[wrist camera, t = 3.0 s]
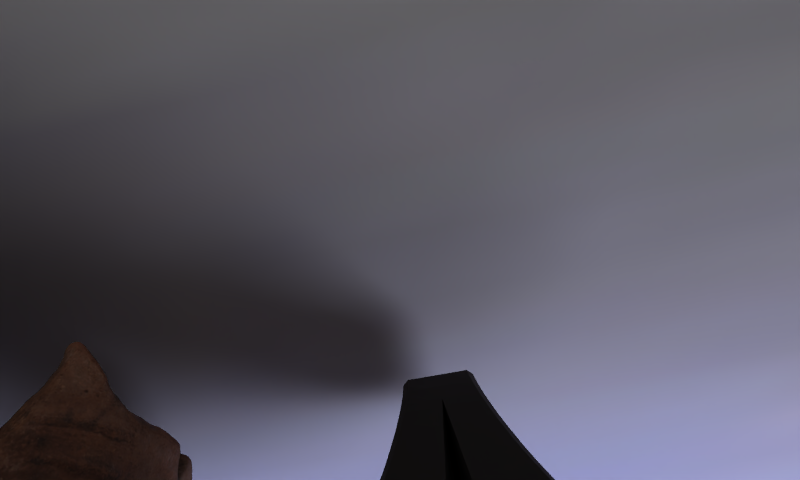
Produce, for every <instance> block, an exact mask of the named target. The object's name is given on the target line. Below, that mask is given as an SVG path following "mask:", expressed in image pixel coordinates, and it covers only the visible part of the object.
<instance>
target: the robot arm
mask: <svg viewBox="0 0 800 480" xmlns="http://www.w3.org/2000/svg"><path fill="white" fill-rule="evenodd" d="M380 480H555V479H554V478H553V477H552V476H551V475H550V474H549V473H548V472H547V471H546V470H545V469H544V468H543V467H542V466H541V465H540V463H539V462H538V461H537V460H536V459H535V458H534V457H533V456H532V455H531V453H530V452H529V451H528V450H527V449H526V448H525V447H524V445H523V444H522V443H521V442H520V441H519V439H518V438H517V437H516V436H515V434H514V433H513V432H512V431H511V430H510V428H509V427H508V426H507V425H506V423H505V422H504V421H503V420H502V418H501V417H500V416H499V414H498V413H497V412H496V410H495V409H494V407H493V406H492V405H491V403H490V402H489V400H488V399H487V397H486V396H485V394H484V393H483V391H482V390H481V388H480V387H479V385H478V383H477V381H476V380H475V378H474V376H473V374H472V373H470V372H469V371H467V370H465V371H459V372H453V373H447V374H441V375H435V376H430V377H424V378H418V379H412V380H408V381H407V382H406V383H405V385H404V387H403V398H402V405H401V410H400V415H399V419H398V423H397V428H396V432H395V435H394V439H393V442H392V445H391V449H390V452H389V455H388V459H387V462H386V465H385V468H384V471H383V474H382V476H381V479H380Z"/></svg>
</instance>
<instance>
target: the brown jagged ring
mask: <svg viewBox="0 0 800 480" xmlns="http://www.w3.org/2000/svg"><path fill="white" fill-rule="evenodd" d="M0 480H192V462H191V460H190V458H189V457H188V456H186V455H183V454H180V444H179V443H178V442H177V440H175V439H174V438H173V437H172V436H171V435H170V434H168V433H167V432H166V431H164V430H163V429H161V428H160V427H157V426H154V425H150V424H149V423H147V422H146V421H145V420H143V419H142V418H140V417H138V416H136V415H135V414H133V413H131V412H130V411H128V409H127V408H126V407H125V406H124V405H123V404H122V403H121V401H120V400H119V398H118V397H117V396H116V395H115V394H114V393H113V391H112V390H111V388H110V386H109V383H108V380H107V377H106V375H105V373H104V372H103V370H102V368H101V367H100V365H99V364H98V362H97V361H96V359H95V358H94V357H93V356H92V355H91V353H90V352H89V351H88V349H87V348H86V346H85V345H83V344H82V343H80V342H73V343H71V344H70V345H69V346H68V347H67V348H66V350H65V353H64V357H63V359H62V361H61V363H60V365H59V367H58V369H57V370H56V371H55V372H54V373H53V374H52V376H51V377H50V378H49V380H48V381H47V382H46V384H45V385H44V386H43V387H42V388H41V389H40V390H39V391H38V392H37V393H36V394H35V395H33V396H32V397H31V398H30V399H29V400H28V401H26V402H25V404H24V405H23V406H22V407H21V408H20V409H19V410H18V411H17V412H16V413H15V414H14V415H13V417H12V418H11V419H10V420H9V421H8V422H7V423H6V424H4V425H3V426H2V427H1V428H0Z"/></svg>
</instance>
